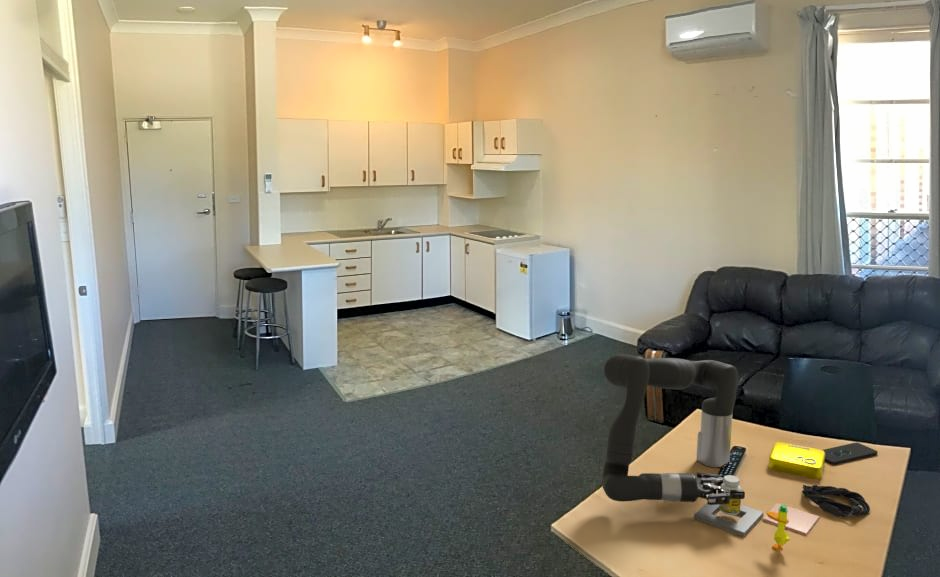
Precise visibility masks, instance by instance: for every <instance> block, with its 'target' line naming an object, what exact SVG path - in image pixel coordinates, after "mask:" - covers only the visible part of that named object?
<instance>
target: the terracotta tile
mask: <svg viewBox="0 0 940 577" xmlns="http://www.w3.org/2000/svg"><path fill="white" fill-rule="evenodd" d="M781 505H782V503H779V502H776V503H775V505H774V506H773V507H771V509H770V510H769V511H771V512H775V513H778V510H779V509H778V508H779V507H781ZM786 506H787V510H788V512H787V519H788V520H789V522H788V524H786V526H785V529H787V530H790V531H793V532H796V533H798V534H801V535H804V536H807V535H808V534H809V533H810V531H811V530H812V528H813V527H814V526H815V525H816V524H817V522H818V521H819V520H820V515H816V514H814V513H809V512H807V511H804V510H801V509H797V508H795V507H791V506H788V505H786ZM762 521H763V522H766V523H769V524H772V525H775V526H778V522H777V521H775V520H773V519H771V518H769V517H768V515H767V514H766V513H765V515H764V516H763V517H762Z"/></svg>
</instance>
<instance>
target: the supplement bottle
mask: <svg viewBox="0 0 940 577" xmlns="http://www.w3.org/2000/svg"><path fill="white" fill-rule="evenodd" d="M723 479H724V481H723V482H724V483H722V484H721V488H722V489H726V490H742V487H741V486H740V478H739V477H738V476H736V475H732V474H730V475H728V474H727V475H725V476H724V477H723ZM721 493H723V492H721ZM722 500H724V499H722ZM741 500H742V499H730V502H729V504H719V509H720V510H719V511H720V512H721V513H722V514H724V515H728V516H737V515H740V514H739V513H740V504H741V503H742V502H741ZM741 505H742V504H741Z"/></svg>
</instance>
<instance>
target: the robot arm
mask: <svg viewBox="0 0 940 577" xmlns="http://www.w3.org/2000/svg"><path fill="white" fill-rule="evenodd" d="M603 373H604V376H605V378H606V380H607V381H608V382H609V383H610V384H611V385H613V386H615V387H619V388H624V389H626V394H625V399H624V400H625V401H624V403H623V405H622V408H621V410H620V412H619V413H618V414H617V416H616V417H615V419H614V421H613V422H612V424H611V426H610V428H609V433H608V437H607V445H606V447H607V448H606V459H605V462H604V467H603V471H602V478H601V486H602V489H603V491H604V493H605V495H606V496H607V498H609V499H610V500H612V501H615V502H634V501H635V502H636V501H641V500H646V501H665V502H673V503H675V502H676V503H677V502H678V503H680V502H681V503H682V502H683V503H695V502H696V501H697V500H698V499H699V498H700V499H705V500H706V501H707V502H706V503H707V504H708V505H718V504H729V502H730V499H741V500H744V499H745V496H746V492H745V491H744V489H741V490H726V489H722V488H721V484H722V483H724V482H723V481H724V477H722V476H720V475H719V474H716V473H707V472H701V471H700V472H697V471H696V475H695V474H694V473H689V472H688V473H687V472H665V473H664V472H662V473H653V472H652V473H651V472H650V473H649V472H648V473H647V472H646V473H645V472H644V473H640V474H639V475H629V467H630V464H631V463H632V460H633V454H634V448H635V447H634V445H635V437H636V435H635V434H636V430H637V426H638V421H639V417H640V413H641V411H642V410H641V409H642V407H643V404H644V400H645V396H646V393H647V392H646V391H647V388H648V386H649V387H654V388H658V389H659V388H660V389H664V390H665V389H666V390H684V389H687V388H689V387H690V386H691V385H694V386H700V387H703V388H706V389H708V390H712V391H713V392H716V395H715V397H710V398H706V399H704V400H702V403H701V418H700V419H701V420H700V431H698V433H697V442H696V443H697V444H696V445H697V446H696V458H695V459H696V461H698V462H700V463H701V464H702V465H705V466H707V467H711V468H717V467H721V466H722V465H724V464H725V463H727V462H729V463H730V459H731V458H730V457H731V444H732V443H731V442H732V441H731V440H732V430H733V429H732V428H733V412H734V406H735V404H736V399H737V390H738V383H739V373H738V370H737V367H736V366H734V365H732V364H728V363H725V362H722V361H718V360H713V359H704V360H692V361H691V360H689V359H684V358H679V357H678V358H676V357H650V358H648V357H647V358H644V357H643V356H638V355H631V354H624V353H618V354H614V355H612V356H611V357H609V358H608V360H606V362H605V365H604V367H603ZM717 469H718V468H717ZM721 492H723V493H721ZM722 499H724V500H722Z"/></svg>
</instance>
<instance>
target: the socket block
mask: <svg viewBox="0 0 940 577" xmlns="http://www.w3.org/2000/svg"><path fill="white" fill-rule="evenodd" d="M719 511H720V509H719V504H718V505H708V504H707V502H706V503H705V504H704V505H703V506H702V507H701V508H699V509H698V510H697V511H695V513H694V514H693V519H694V520H698V521H701V522H703V523H705V524H707V525H711V526H714V527H717V528H719V529H722V530H724V531H728V532H730V533H733V534H734V535H735V534H736V535H737V536H741V537H743V538H744V537H745V536H747V534H748V533H749V532H750V531H751V530H752V529H753V528H754V526H756V525H757V523H758V522H760V520H762V519H763V518H764V511H761V510H758V509H756V508H753V507H749V506H746V505H743V504H740V513H739V514H738V515H741V516H742V517H741V518H740V519H738V521H737V522H735V521H733V520H729V519H726V518H724V517H721V516H718V515H716V514H717V512H719Z"/></svg>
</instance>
